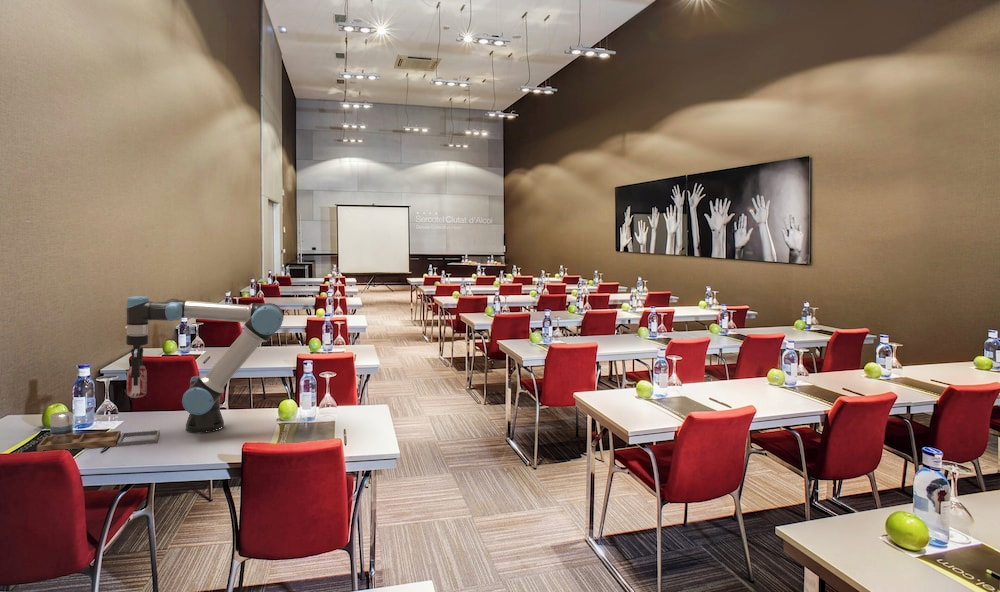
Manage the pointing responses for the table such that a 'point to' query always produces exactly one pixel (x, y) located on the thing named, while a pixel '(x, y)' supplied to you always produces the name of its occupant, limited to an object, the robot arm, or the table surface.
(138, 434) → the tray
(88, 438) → the caddy
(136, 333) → the robot arm
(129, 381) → the soda can
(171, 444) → the table surface
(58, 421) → the translucent grey rounded cylinder
